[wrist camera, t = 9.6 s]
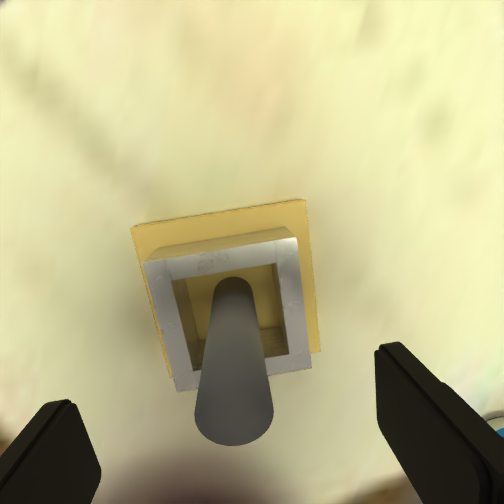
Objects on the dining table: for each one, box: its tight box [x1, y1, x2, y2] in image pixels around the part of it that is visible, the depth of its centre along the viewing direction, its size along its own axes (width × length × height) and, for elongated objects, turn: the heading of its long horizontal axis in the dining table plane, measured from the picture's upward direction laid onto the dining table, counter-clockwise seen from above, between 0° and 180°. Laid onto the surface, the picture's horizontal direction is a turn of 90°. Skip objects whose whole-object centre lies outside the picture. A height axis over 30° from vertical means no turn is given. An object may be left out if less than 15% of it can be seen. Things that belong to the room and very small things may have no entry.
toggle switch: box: [130, 199, 321, 446], centre depth 13 cm, size 10×10×10 cm
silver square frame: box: [142, 227, 312, 392], centre depth 16 cm, size 7×7×3 cm
